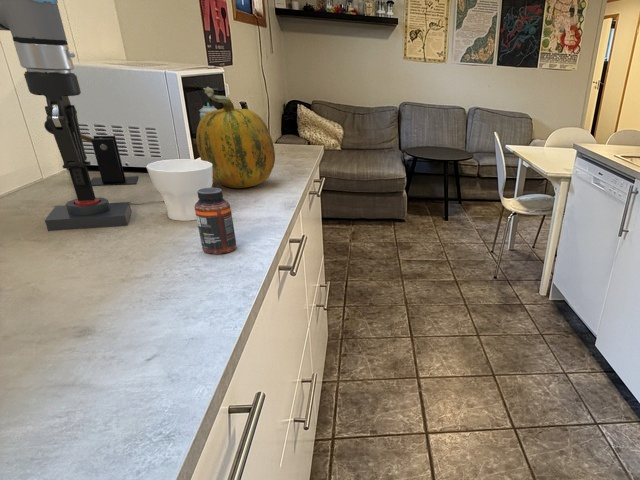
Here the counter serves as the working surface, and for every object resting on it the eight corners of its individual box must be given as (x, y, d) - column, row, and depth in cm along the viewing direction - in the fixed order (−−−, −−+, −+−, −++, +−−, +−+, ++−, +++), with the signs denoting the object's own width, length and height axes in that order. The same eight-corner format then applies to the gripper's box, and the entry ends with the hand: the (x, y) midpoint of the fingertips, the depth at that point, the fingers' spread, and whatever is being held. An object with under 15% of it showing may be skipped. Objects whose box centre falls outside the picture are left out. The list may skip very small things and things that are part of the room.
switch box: (48, 231, 91) (41, 211, 89) (58, 215, 99) (52, 197, 97) (127, 225, 97) (122, 206, 95) (131, 211, 104) (127, 193, 102)
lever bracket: (89, 189, 116) (75, 140, 111) (94, 182, 123) (81, 134, 117) (137, 187, 121) (125, 140, 115) (139, 180, 127) (128, 134, 121)
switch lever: (40, 131, 109) (44, 116, 108) (44, 129, 112) (48, 114, 111) (109, 155, 117) (113, 141, 116) (110, 152, 120) (114, 139, 119)
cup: (184, 204, 111) (175, 156, 106) (232, 211, 109) (224, 162, 104) (143, 219, 100) (131, 167, 95) (195, 227, 99) (185, 174, 93)
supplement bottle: (238, 242, 92) (229, 185, 87) (236, 254, 88) (227, 194, 82) (204, 244, 91) (193, 186, 85) (200, 256, 86) (188, 194, 80)
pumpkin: (197, 194, 119) (177, 86, 108) (212, 176, 136) (197, 81, 124) (274, 194, 124) (264, 91, 112) (280, 177, 140) (271, 85, 129)
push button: (75, 212, 94) (73, 204, 93) (79, 206, 97) (76, 198, 96) (99, 211, 96) (97, 202, 95) (102, 205, 99) (100, 197, 98)
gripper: (68, 74, 81) (105, 207, 92) (81, 70, 91) (112, 190, 102) (12, 71, 78) (57, 210, 89) (32, 67, 88) (70, 192, 99)
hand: (86, 199), depth 96 cm, fingers closed
